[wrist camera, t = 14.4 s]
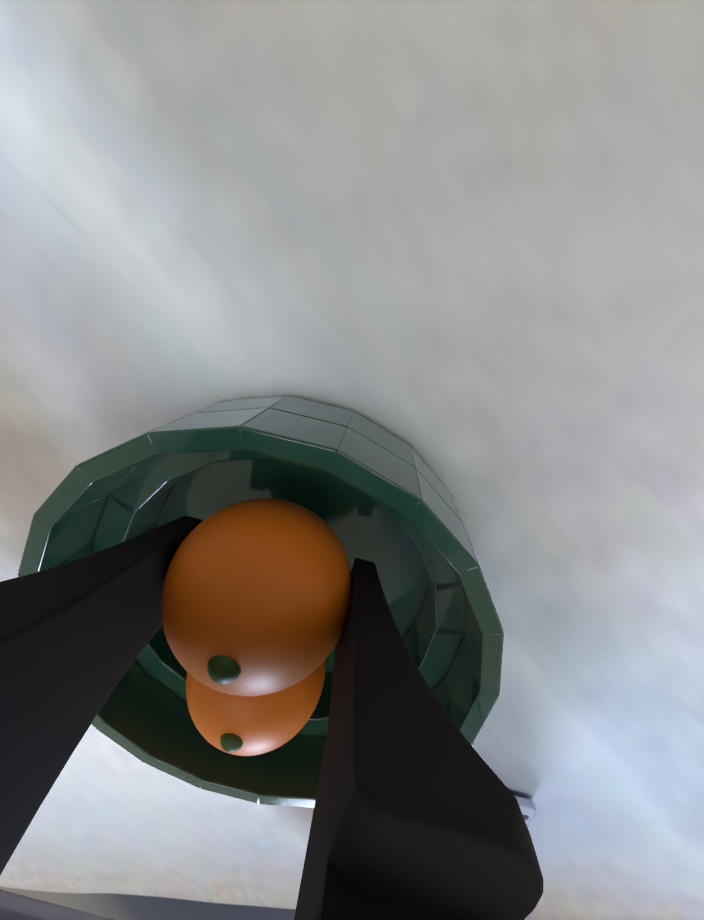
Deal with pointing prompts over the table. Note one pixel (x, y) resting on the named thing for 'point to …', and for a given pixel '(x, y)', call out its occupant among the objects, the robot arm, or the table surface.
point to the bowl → (346, 512)
